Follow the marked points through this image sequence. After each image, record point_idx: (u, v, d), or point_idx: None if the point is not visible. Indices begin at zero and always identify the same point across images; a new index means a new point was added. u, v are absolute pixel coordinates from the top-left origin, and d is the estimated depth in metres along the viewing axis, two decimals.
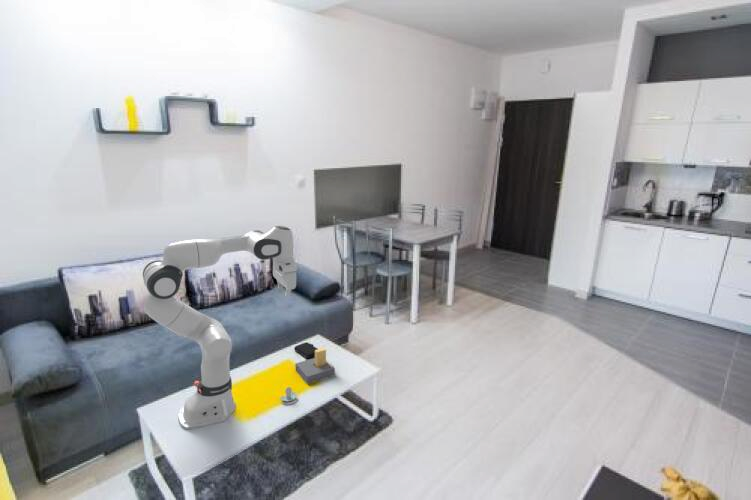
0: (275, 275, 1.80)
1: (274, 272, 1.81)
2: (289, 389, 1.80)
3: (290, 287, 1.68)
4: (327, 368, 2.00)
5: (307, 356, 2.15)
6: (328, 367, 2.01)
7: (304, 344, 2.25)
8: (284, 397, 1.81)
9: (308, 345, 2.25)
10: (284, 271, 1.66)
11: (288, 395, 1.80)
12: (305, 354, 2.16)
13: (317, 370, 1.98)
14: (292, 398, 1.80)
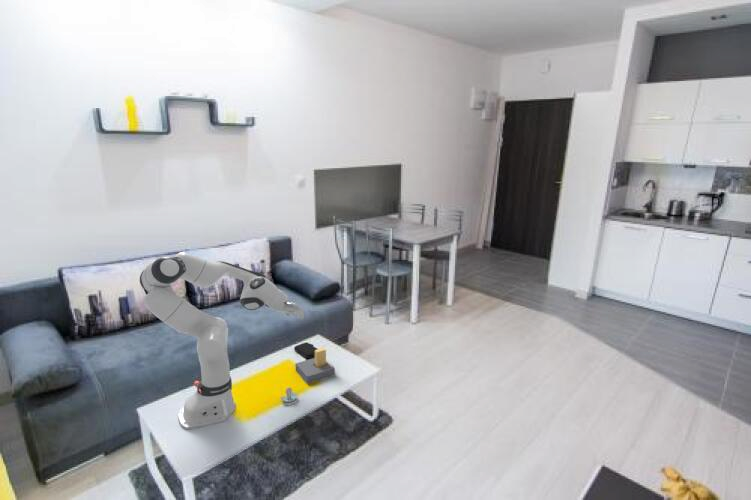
0: None
1: None
2: (289, 389, 1.80)
3: None
4: (327, 368, 2.00)
5: (307, 356, 2.15)
6: (328, 367, 2.01)
7: (304, 344, 2.25)
8: (284, 397, 1.80)
9: (308, 345, 2.25)
10: None
11: (288, 395, 1.80)
12: (305, 354, 2.16)
13: (317, 370, 1.98)
14: (292, 398, 1.80)
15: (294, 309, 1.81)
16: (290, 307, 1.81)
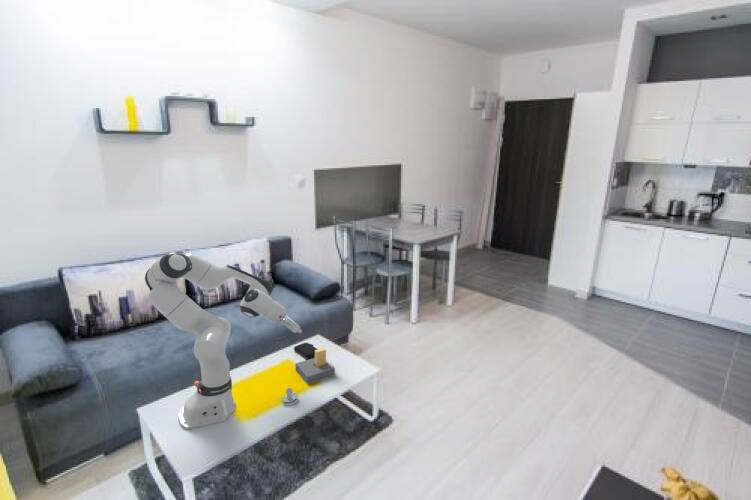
0: (294, 322, 1.84)
1: (294, 322, 1.82)
2: (290, 390, 1.79)
3: None
4: (327, 368, 2.00)
5: (307, 356, 2.15)
6: (328, 367, 2.01)
7: (304, 345, 2.25)
8: (285, 398, 1.80)
9: (308, 345, 2.24)
10: None
11: (289, 396, 1.79)
12: (305, 354, 2.16)
13: (317, 370, 1.98)
14: (293, 399, 1.80)
15: (287, 325, 1.78)
16: (284, 322, 1.79)
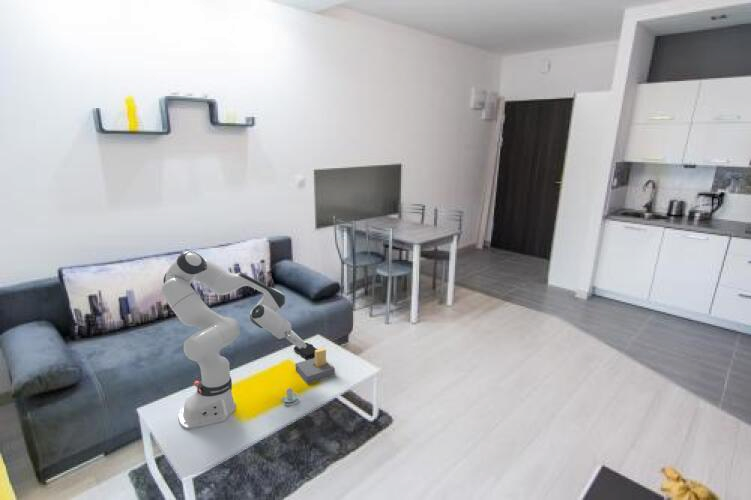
0: (299, 338, 1.87)
1: (299, 338, 1.85)
2: (290, 390, 1.79)
3: None
4: (327, 368, 2.00)
5: (306, 356, 2.15)
6: (328, 367, 2.01)
7: None
8: (285, 398, 1.80)
9: (307, 345, 2.24)
10: None
11: (289, 396, 1.79)
12: (304, 354, 2.16)
13: (317, 370, 1.98)
14: (293, 399, 1.79)
15: (292, 341, 1.81)
16: (289, 338, 1.82)
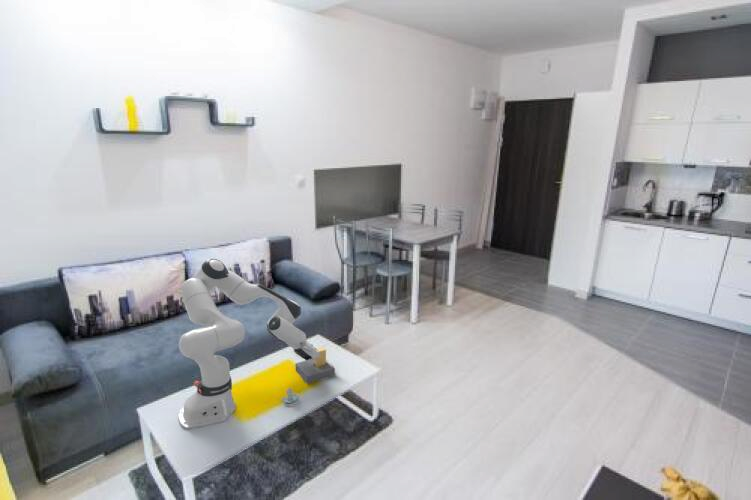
0: (314, 348, 1.93)
1: (314, 348, 1.91)
2: (290, 390, 1.79)
3: None
4: (327, 368, 2.00)
5: (306, 356, 2.15)
6: (328, 367, 2.01)
7: None
8: (285, 398, 1.80)
9: None
10: None
11: (289, 396, 1.79)
12: (304, 354, 2.16)
13: (317, 370, 1.98)
14: (293, 399, 1.79)
15: (307, 352, 1.87)
16: (304, 349, 1.88)
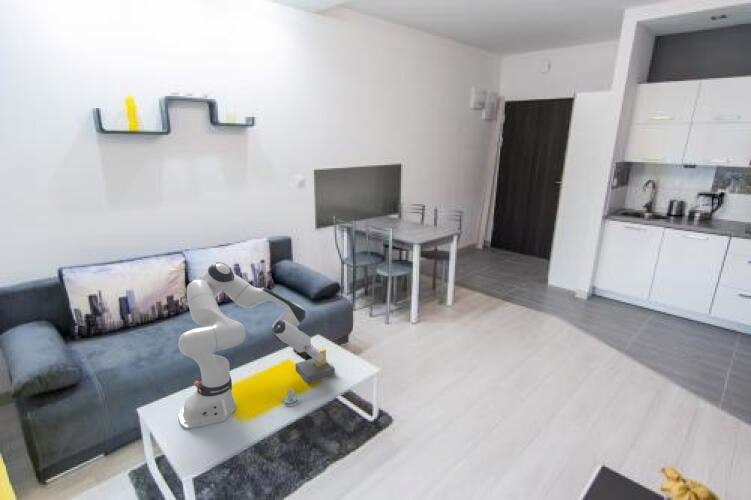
0: None
1: (318, 352, 1.93)
2: (290, 391, 1.79)
3: None
4: (327, 368, 2.00)
5: (306, 357, 2.14)
6: (328, 367, 2.01)
7: None
8: (285, 399, 1.79)
9: None
10: None
11: (289, 397, 1.79)
12: (304, 355, 2.16)
13: (317, 370, 1.98)
14: (294, 400, 1.79)
15: (312, 355, 1.88)
16: (309, 352, 1.89)
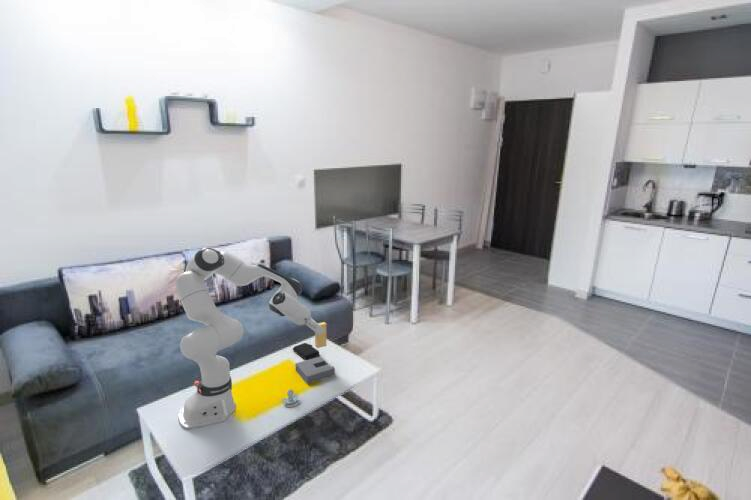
0: None
1: None
2: (291, 391, 1.78)
3: None
4: (327, 368, 2.00)
5: (305, 357, 2.14)
6: (328, 367, 2.01)
7: (303, 345, 2.24)
8: (286, 399, 1.79)
9: (307, 346, 2.24)
10: None
11: (290, 397, 1.78)
12: (303, 355, 2.15)
13: (317, 370, 1.98)
14: (294, 400, 1.79)
15: (312, 327, 1.85)
16: (309, 324, 1.85)
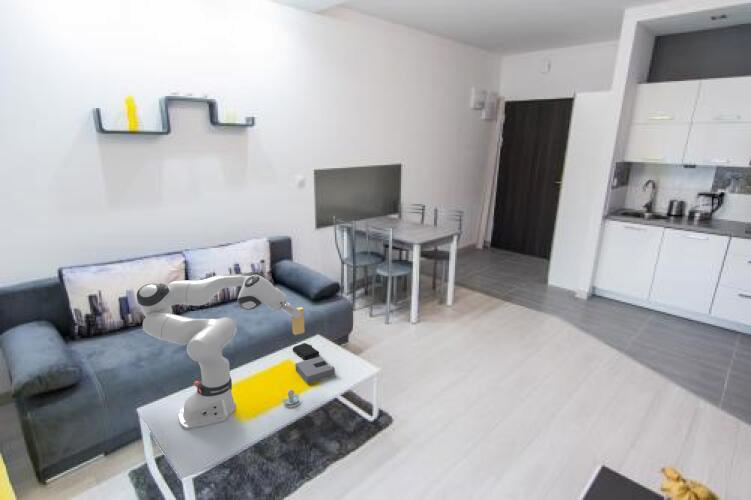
0: None
1: None
2: (291, 392, 1.78)
3: None
4: (327, 368, 2.00)
5: (305, 357, 2.14)
6: (328, 367, 2.01)
7: (302, 345, 2.24)
8: (286, 400, 1.79)
9: (306, 346, 2.24)
10: None
11: (290, 398, 1.78)
12: (303, 355, 2.15)
13: (317, 370, 1.98)
14: (294, 401, 1.78)
15: (288, 310, 1.76)
16: (285, 308, 1.76)
